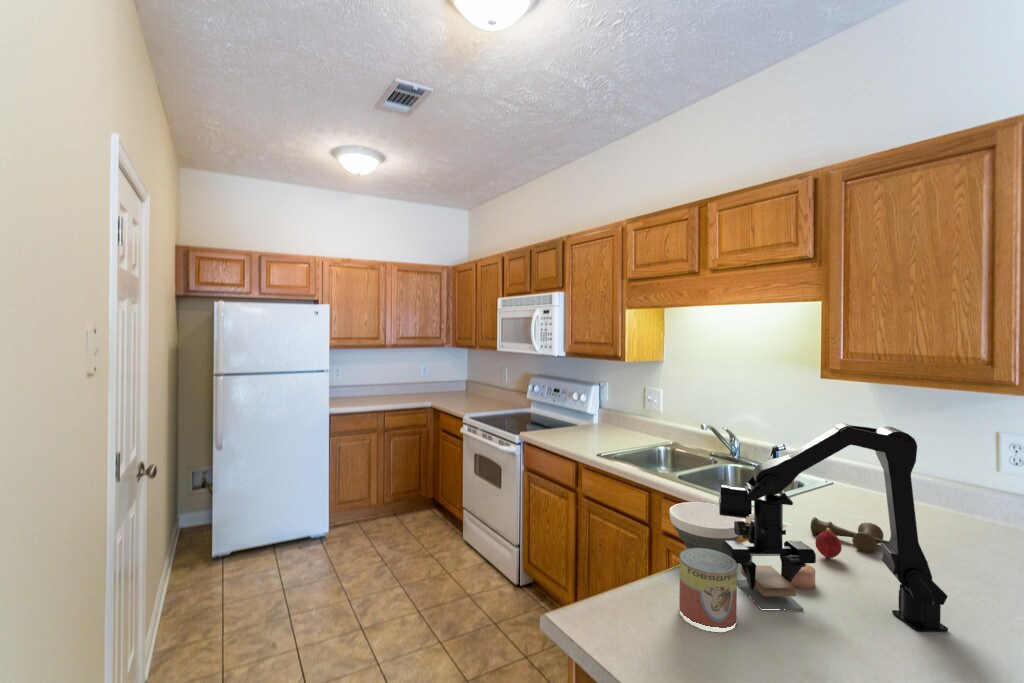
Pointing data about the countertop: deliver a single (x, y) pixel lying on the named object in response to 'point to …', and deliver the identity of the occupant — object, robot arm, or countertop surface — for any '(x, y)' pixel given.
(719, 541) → the bowl
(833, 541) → the onion
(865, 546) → the kendama
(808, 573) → the peach rounded knob
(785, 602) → the mat
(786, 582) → the cover
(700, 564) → the canned food
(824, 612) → the countertop surface
